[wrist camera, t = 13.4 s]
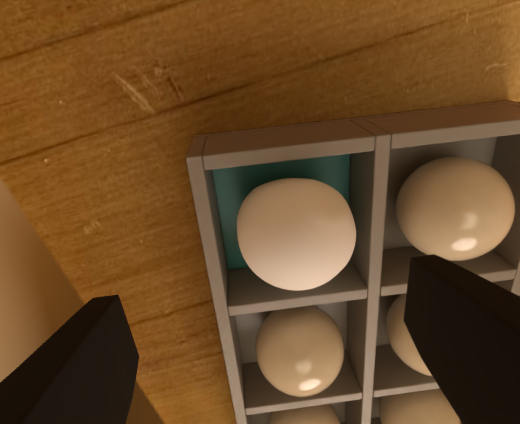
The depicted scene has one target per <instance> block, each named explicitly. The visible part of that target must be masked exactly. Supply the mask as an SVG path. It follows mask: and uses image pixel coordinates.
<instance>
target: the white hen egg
mask: <svg viewBox="0 0 520 424" xmlns="http://www.w3.org/2000/svg"><path fill="white" fill-rule="evenodd" d="M237 237H238V243H239V247H240V251H241V253H242V256H243V258H244V260H245V261H246V263H247V264H248V266H249V267H250V269H251V270H252V271H253V272H254V273H255V274H256V275H257V276H258V277H260V278H261V279H262V280H264V281H265V282H267V283H269V284H271V285H273V286H275V287H278V288H281V289H286V290H295V291H299V290H308V289H312V288H316V287H318V286H321V285H323V284H325V283H327V282H328V281H330V280H331V279H333V278H334V277H335V276H336V275H337V274H338V273H339V272H340V271H341V270H342V269H343V268H344V267H345V266H346V265H347V263H348V262H349V260H350V258H351V256H352V253H353V250H354V247H355V242H356V227H355V223H354V219H353V215H352V213H351V210H350V208H349V206H348V204H347V202H346V200H345V199H344V198H343V196H342V195H341V194H340V193H339V192H338V191H337V190H335V189H334V188H332V187H331V186H329V185H327V184H325V183H322V182H320V181H317V180H313V179H304V178H285V179H279V180H275V181H271V182H268V183H265V184H262V185H260V186H258V187H256V188H255V189H253V190H252V191H251V192H250V193H249V194H248V195H247V196H246V198H245V199H244V201H243V202H242V204H241V207H240V209H239V212H238V217H237Z"/></svg>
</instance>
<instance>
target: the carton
mask: <svg viewBox="0 0 520 424" xmlns="http://www.w3.org/2000/svg"><path fill="white" fill-rule="evenodd" d="M446 156H464V157H470V158H474V159H477V160H480V161H482V162H485V163H487V164H488V165H490V166H492V167H493V168H495V169H496V170H497V171H498V172H499V173H500V174H501V175H502V176H503V177H504V178H505V180H506V181H507V182H508V184H509V186H510V188H511V190H512V192H513V195H514V199H515V217H514V222H513V225H512V227H511V229H510V231H509V233H508V235H507V236H506V237H505V239H504V240H503V241H502V242H501V243H500V244H499V245H498V246H497V247H495V248H494V249H493V250H491V251H490V252H488V253H486V254H484V255H482V256H480V257H477V258H474V259H470V260H465V261H451V262H453V263H455V264H457V265H459V266H461V267H463V268H465V269H467V270H469V271H471V272H473V273H475V274H477V275H479V276H481V277H483V278H485V279H487V280H489V281H491V282H492V283H494V284H496V285H498V286H500V287H502V288H504V289H506V290H508V291H510V292H512V293H514V294H516V295H518V296H520V102H514V101H509V100H507V101H498V102H489V103H480V104H471V105H462V106H453V107H444V108H435V109H426V110H418V111H409V112H400V113H391V114H382V115H373V116H364V117H355V118H346V119H337V120H328V121H319V122H311V123H302V124H293V125H284V126H275V127H266V128H257V129H248V130H239V131H230V132H221V133H212V134H204V135H195V136H194V137H193V140H192V142H191V145H190V148H189V150H188V153H187V156H186V164H187V169H188V174H189V179H190V184H191V190H192V195H193V200H194V205H195V210H196V216H197V221H198V226H199V231H200V236H201V241H202V247H203V252H204V257H205V262H206V267H207V273H208V278H209V283H210V288H211V293H212V299H213V304H214V309H215V314H216V319H217V325H218V330H219V335H220V340H221V345H222V351H223V356H224V361H225V366H226V371H227V377H228V382H229V387H230V392H231V397H232V403H233V408H234V413H235V418H236V423H237V424H267V422H268V418H269V415H270V412H274V411H281V410H288V409H295V408H302V407H309V406H317V405H324V404H331V405H332V406H333V407H334V409H335V410H336V412H337V414H338V416H339V419H340V422H341V424H381V422H380V417H379V401H380V397H381V396H388V395H395V394H402V393H409V392H417V391H424V390H431V389H438V388H440V387H439V386H438V384H437V383H436V381H435V379H434V378H433V377H432V376H428V375H424V374H421V373H419V372H417V371H415V370H413V369H412V368H410V367H409V366H407V365H406V364H405V363H404V362H402V361H401V359H400V358H399V357H398V356H397V355H396V354H395V352H394V350H393V349H392V347H391V345H390V343H389V340H388V337H387V333H386V316H387V313H388V310H389V307H390V305H391V304H392V302H393V301H394V300H395V298H396V297H397V296H398V295H400V294H404V293H407V285H408V276H409V267H410V259H411V257H417V256H425V255H426V254H424V253H422V252H420V251H419V250H417V249H416V248H415V247H414V246H412V245H411V244H410V243H409V242H408V241H407V239H406V238H405V237H404V235H403V234H402V232H401V230H400V228H399V226H398V223H397V220H396V213H395V204H396V198H397V194H398V192H399V189H400V187H401V186H402V184H403V182H404V181H405V179H406V178H407V177H408V176H409V175H410V174H411V173H412V172H413V171H414V170H415V169H417V168H418V167H419V166H421V165H423V164H424V163H426V162H429V161H431V160H434V159H437V158H441V157H446ZM285 178H304V179H313V180H317V181H320V182H322V183H325V184H327V185H329V186H331V187H332V188H334V189H335V190H337V191H338V192H339V193H340V194H341V195H342V196H343V198H344V199H345V200H346V202H347V204H348V206H349V208H350V210H351V213H352V215H353V219H354V223H355V227H356V242H355V247H354V250H353V253H352V256H351V258H350V260H349V262H348V263H347V265H346V266H345V267H344V268H343V269H342V270H341V271H340V272H339V273H338V274H337V275H336V276H335V277H334V278H333V279H331V280H330V281H328V282H327V283H325V284H323V285H321V286H318V287H316V288H312V289H308V290H299V291H295V290H286V289H281V288H278V287H275V286H273V285H271V284H269V283H267V282H265V281H264V280H262V279H261V278H260V277H258V276H257V275H256V274H255V273H254V272H253V271H252V270H251V269H250V267H249V266H248V264H247V263H246V261H245V260H244V258H243V256H242V253H241V251H240V247H239V243H238V237H237V217H238V212H239V209H240V207H241V204H242V202H243V201H244V199H245V198H246V196H247V195H248V194H249V193H250V192H251V191H252V190H253V189H255V188H256V187H258V186H260V185H262V184H265V183H268V182H271V181H275V180H279V179H285ZM312 305H315V306H317V307H319V308H321V309H323V310H324V311H325V312H327V313H328V314H329V315H330V316H331V317H332V318H333V320H334V321H335V323H336V324H337V326H338V328H339V330H340V332H341V334H342V338H343V342H344V360H343V365H342V368H341V370H340V373H339V375H338V376H337V378H336V379H335V381H334V382H333V383H332V384H331V385H330V386H329V387H328V388H326V389H325V390H324V391H322V392H320V393H318V394H316V395H312V396H308V397H296V396H291V395H287V394H285V393H283V392H281V391H279V390H277V389H276V388H275V387H273V386H272V385H271V384H270V383H269V382H268V381H267V379H266V378H265V377H264V375H263V374H262V372H261V370H260V368H259V366H258V363H257V359H256V353H255V342H256V336H257V332H258V330H259V327H260V325H261V323H262V322H263V320H264V319H265V317H266V316H267V315H268V314H269V313H270V312H271V311H273V310H281V309H288V308H296V307H304V306H312ZM460 422H461V420H460ZM461 424H463V423H462V422H461Z"/></svg>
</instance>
